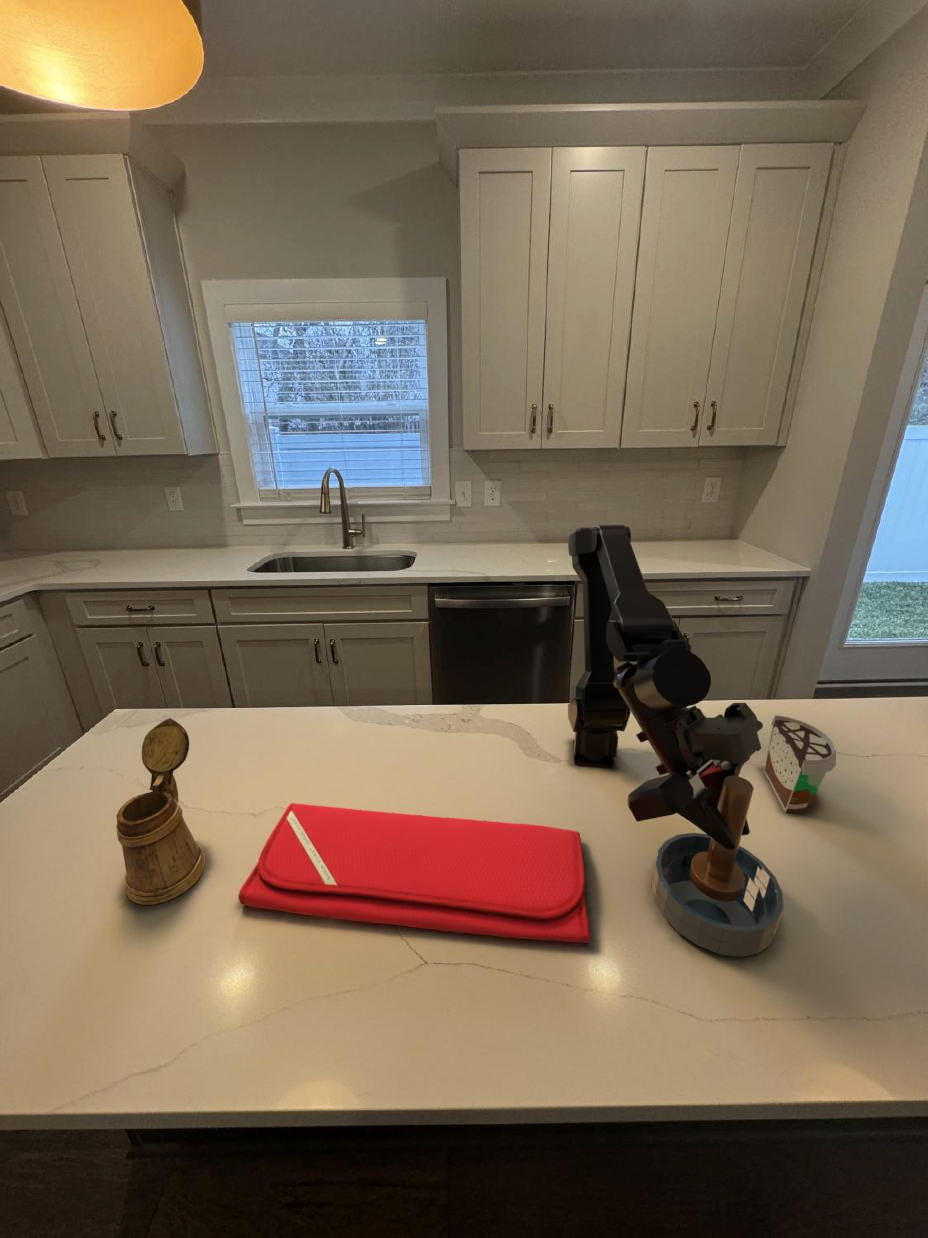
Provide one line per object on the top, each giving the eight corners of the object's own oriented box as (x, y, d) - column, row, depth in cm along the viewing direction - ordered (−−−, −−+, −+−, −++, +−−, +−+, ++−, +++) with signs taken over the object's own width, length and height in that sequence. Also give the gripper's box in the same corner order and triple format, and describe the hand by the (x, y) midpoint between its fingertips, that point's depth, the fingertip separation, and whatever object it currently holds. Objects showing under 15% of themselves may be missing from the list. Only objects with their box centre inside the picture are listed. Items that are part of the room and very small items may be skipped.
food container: (837, 825, 71) (857, 767, 67) (789, 819, 72) (806, 762, 69) (802, 769, 82) (817, 717, 79) (760, 765, 83) (773, 713, 80)
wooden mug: (230, 821, 74) (204, 716, 67) (185, 904, 61) (148, 785, 55) (169, 823, 74) (137, 717, 67) (111, 907, 61) (64, 787, 54)
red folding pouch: (590, 951, 55) (593, 927, 54) (238, 913, 60) (232, 890, 59) (578, 839, 70) (580, 818, 68) (295, 816, 75) (291, 795, 73)
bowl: (662, 950, 55) (668, 921, 54) (643, 853, 67) (647, 827, 66) (794, 969, 53) (804, 939, 51) (750, 866, 65) (757, 839, 63)
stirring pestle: (696, 898, 57) (718, 799, 51) (684, 858, 62) (703, 764, 57) (749, 905, 56) (777, 805, 51) (733, 864, 61) (757, 769, 56)
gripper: (668, 721, 47) (769, 886, 43) (757, 661, 58) (844, 789, 54) (593, 751, 56) (671, 890, 52) (682, 694, 67) (752, 806, 63)
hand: (739, 841), depth 55 cm, fingers closed on stirring pestle, 3 cm apart
